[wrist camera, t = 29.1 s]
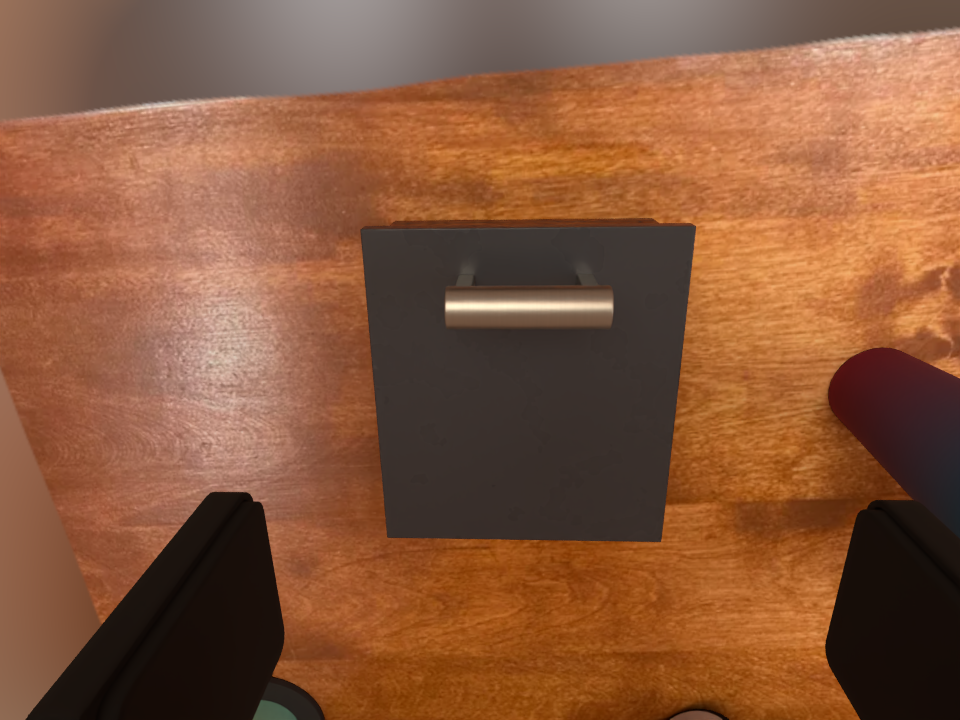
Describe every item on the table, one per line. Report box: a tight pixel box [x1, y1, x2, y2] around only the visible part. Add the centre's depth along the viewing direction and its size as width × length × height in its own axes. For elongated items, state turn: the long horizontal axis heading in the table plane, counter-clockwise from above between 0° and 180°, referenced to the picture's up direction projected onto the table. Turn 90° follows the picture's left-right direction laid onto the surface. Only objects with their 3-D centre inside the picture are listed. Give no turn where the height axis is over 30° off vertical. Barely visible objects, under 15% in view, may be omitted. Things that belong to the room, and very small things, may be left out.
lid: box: [361, 223, 696, 542], centre depth 26 cm, size 16×14×5 cm
